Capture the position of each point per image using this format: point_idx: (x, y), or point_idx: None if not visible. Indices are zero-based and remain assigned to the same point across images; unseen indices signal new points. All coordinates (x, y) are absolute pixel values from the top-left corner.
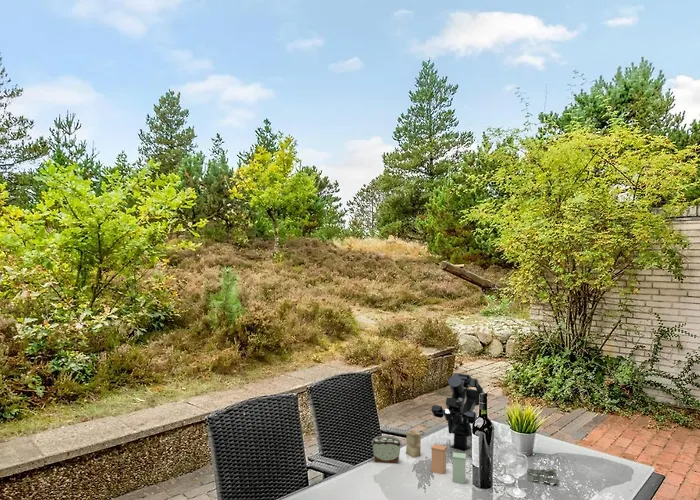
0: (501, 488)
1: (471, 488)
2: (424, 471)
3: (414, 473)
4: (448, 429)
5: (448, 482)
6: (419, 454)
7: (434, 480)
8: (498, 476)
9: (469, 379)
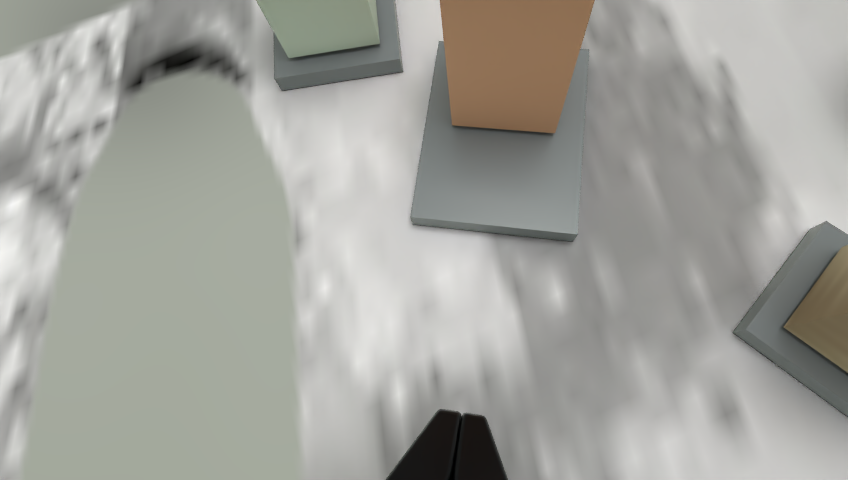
0: (63, 98)
1: (255, 14)
2: (626, 101)
3: (688, 37)
4: (500, 461)
5: (410, 22)
6: (801, 316)
7: None
8: (50, 272)
9: None
